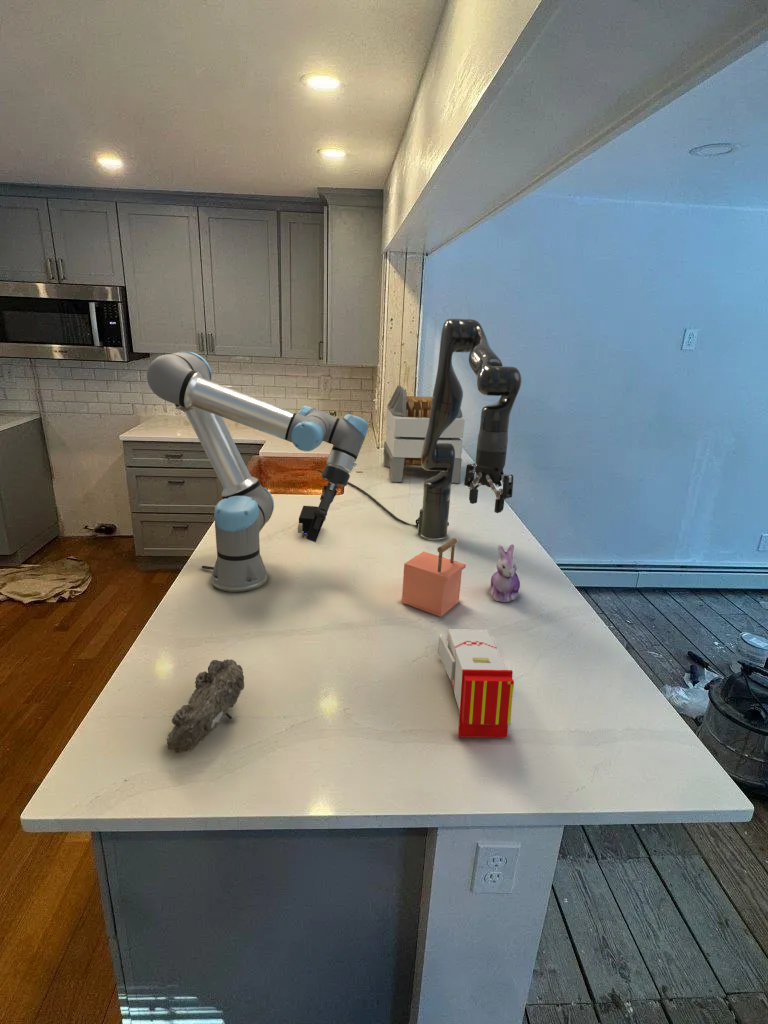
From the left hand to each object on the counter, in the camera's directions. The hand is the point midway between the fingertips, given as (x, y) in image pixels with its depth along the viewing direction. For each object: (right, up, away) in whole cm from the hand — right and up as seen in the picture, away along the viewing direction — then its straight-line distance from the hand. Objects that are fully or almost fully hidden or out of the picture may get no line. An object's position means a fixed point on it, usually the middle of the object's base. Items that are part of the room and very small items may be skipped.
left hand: (310, 540), depth 157 cm
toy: (+38, -30, -38) cm, 62 cm away
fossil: (-12, -31, -49) cm, 59 cm away
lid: (+34, -7, -7) cm, 35 cm away
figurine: (+54, -16, +3) cm, 57 cm away
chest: (+33, -17, -3) cm, 37 cm away
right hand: (+47, +9, -8) cm, 49 cm away
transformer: (+38, +27, +118) cm, 127 cm away
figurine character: (-6, +1, +41) cm, 41 cm away
